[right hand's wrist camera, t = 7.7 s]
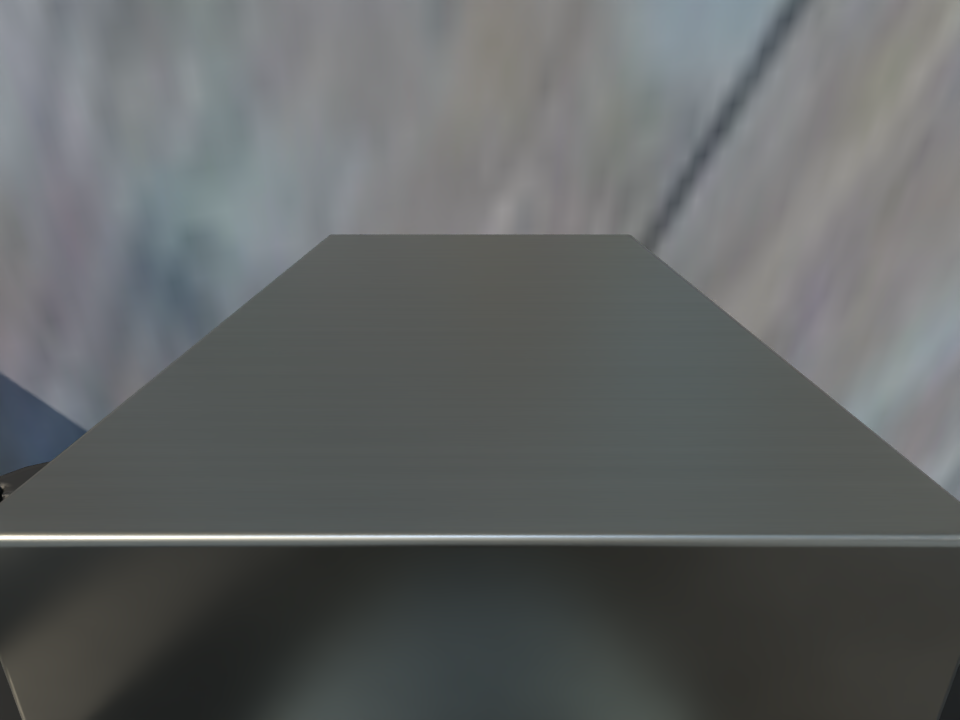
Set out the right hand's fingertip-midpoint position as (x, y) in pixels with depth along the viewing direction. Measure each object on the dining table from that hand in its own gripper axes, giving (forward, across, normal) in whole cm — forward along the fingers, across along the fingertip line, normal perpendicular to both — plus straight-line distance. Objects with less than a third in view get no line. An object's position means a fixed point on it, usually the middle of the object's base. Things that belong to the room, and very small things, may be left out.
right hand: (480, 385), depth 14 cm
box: (+1, 0, -7) cm, 7 cm away
